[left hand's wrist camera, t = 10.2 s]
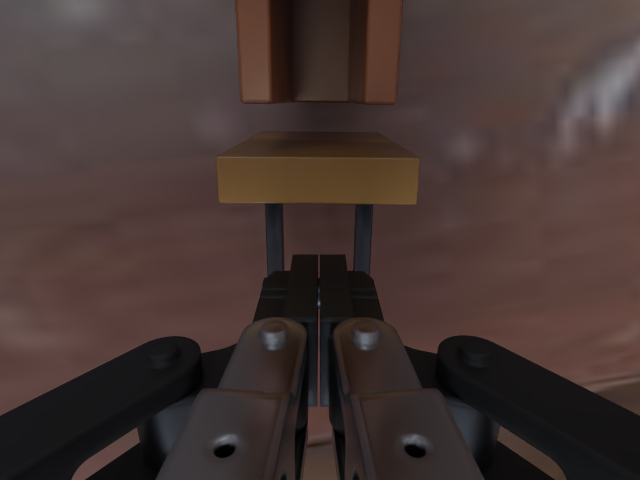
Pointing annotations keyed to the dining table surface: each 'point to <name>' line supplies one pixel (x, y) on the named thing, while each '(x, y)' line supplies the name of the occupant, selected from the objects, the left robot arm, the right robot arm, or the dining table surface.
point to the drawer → (318, 86)
